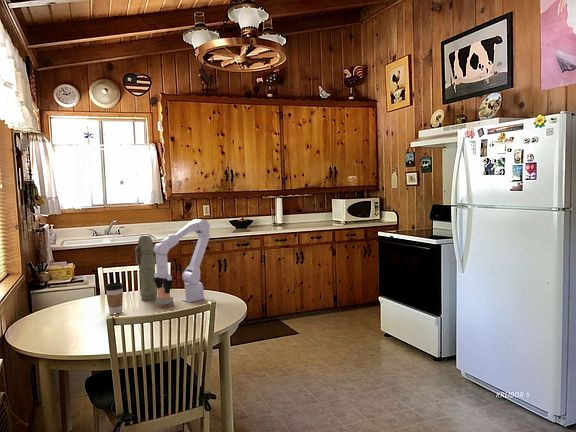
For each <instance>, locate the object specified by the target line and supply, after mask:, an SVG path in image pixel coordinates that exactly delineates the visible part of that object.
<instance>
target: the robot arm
mask: <svg viewBox="0 0 576 432" xmlns="http://www.w3.org/2000/svg"><path fill="white" fill-rule="evenodd" d="M210 227H211V225H210V223H209V222H208V220H206V219H200V218H194V219H192V220H191V221H188V223H187V224H186V225H185V226H184V227H182V228H181V229H180V230H178V232H176V233H175V234H174V233H170V234H168V235H167V237H166V238H164V239H162V240H160V242H158V243H157V242H156V243H155V247H153V254H154V253H155V254H156V263H155V270H156V272H155V273H154V277H155V278H153V280H154V282H155V284H156V286H157V288H161V287H164V290H165V294H168V293H170V294H171V287H172V284H173V282H174V279H173V278H172V275H170V274H169V263H168V253H169V251H170V249H172V248H173V247H175V246H176V245H177V244H179V243H180V240H181V239H182V238H183V237H185V236H186V235H188V234H189V233H191V232H195V233H196V235H197V236H198V240H197V242H196V245H195V247H194V248H195V249H194V251H193V254H192V256H191V260H190V263H189V265H187V266H186V269H184V271H183V272H182V275H181V278H182V281H183V282H184V293H185V294H184V295H185V296H184V297H185V298H182V301H184V302H188V303H193V302H197V301H201V300H202V301H203V300H205V293H204V285H203V283H202V282H201V281H200V280H201V269H200V267H201V263H202V261H203V259H204V256H205V253H206V248H207V246H208V243H209V240H210V236H211V235H210V234H211V233H210Z"/></svg>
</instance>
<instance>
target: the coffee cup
mask: <svg viewBox="0 0 576 432" xmlns="http://www.w3.org/2000/svg"><path fill="white" fill-rule="evenodd" d="M123 289H124V287H123V283H122V282H111V283H110V282H109V283H106V284H105V287H104V290H105V292H106V294H105V295H106V301H107V307H108V311H109V312H108V313H109V315H111V314H114V313H120V312H122V313H123ZM120 314H121V313H120Z"/></svg>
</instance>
